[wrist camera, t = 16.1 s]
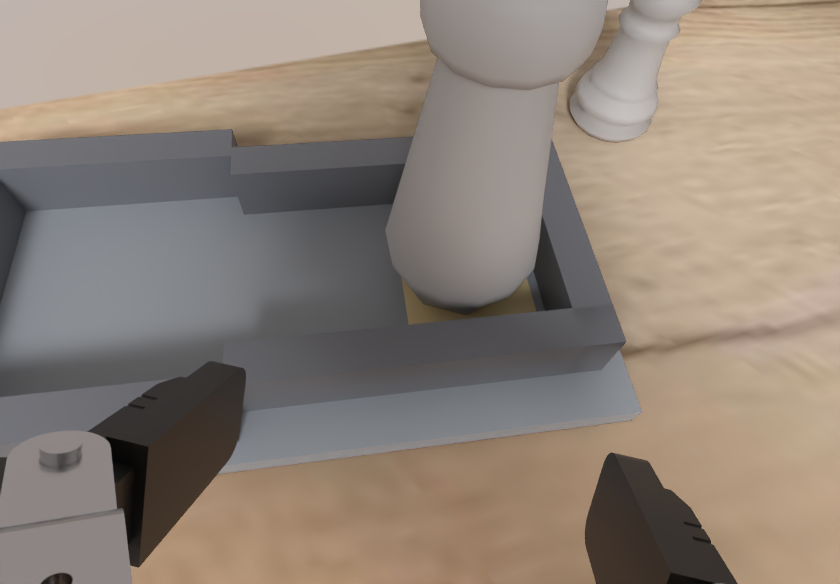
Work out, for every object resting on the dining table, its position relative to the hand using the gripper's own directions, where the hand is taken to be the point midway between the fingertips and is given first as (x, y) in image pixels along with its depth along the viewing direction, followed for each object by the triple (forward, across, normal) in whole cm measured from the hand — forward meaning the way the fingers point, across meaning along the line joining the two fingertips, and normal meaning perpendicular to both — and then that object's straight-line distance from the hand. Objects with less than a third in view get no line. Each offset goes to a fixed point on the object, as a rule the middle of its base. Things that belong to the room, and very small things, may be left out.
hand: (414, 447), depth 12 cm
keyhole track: (+11, +7, +1) cm, 13 cm away
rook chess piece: (+22, -6, -10) cm, 25 cm away
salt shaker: (+12, 0, -2) cm, 12 cm away
